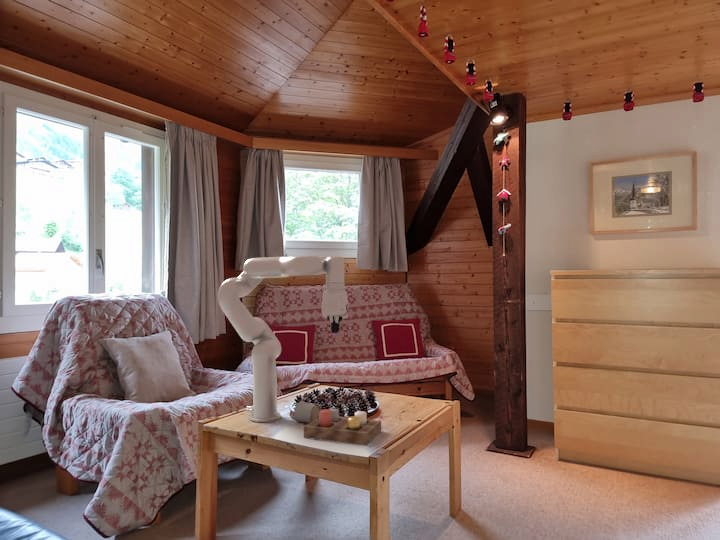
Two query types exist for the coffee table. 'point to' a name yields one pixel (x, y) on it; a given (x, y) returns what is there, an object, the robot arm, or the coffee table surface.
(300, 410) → the ceramic mug
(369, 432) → the box
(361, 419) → the cream white block
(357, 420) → the gold round piece
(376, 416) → the coffee table surface
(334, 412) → the gray block
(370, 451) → the coffee table surface
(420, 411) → the coffee table surface
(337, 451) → the coffee table surface
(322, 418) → the pink cylinder
